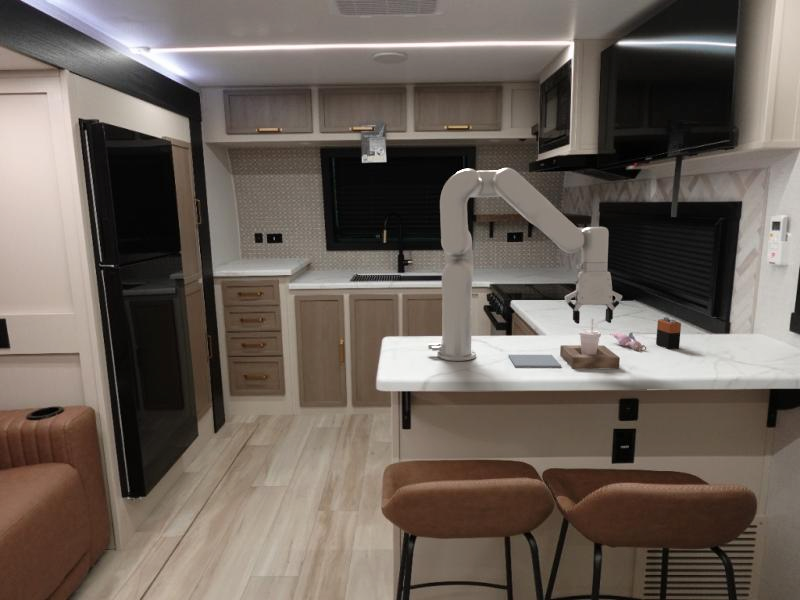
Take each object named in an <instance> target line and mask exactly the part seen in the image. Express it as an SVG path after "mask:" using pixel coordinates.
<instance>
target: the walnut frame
mask: <svg viewBox="0 0 800 600" xmlns="http://www.w3.org/2000/svg"><path fill="white" fill-rule="evenodd" d="M559 353H560V354H559V356H560V357H561V358H562V359H563V361H564V362H567V363H566V364H567V365H568V366H569V367H570V368H571V369H572V370H573V369H575V370H577V369H578V368H580V369H581V368H589V369H590V368H591V370H592V369H593V368H619V369H620V362H621V360H620V358H621V357H620V356H618V355H617V353H616V354H615V353H614V352H613V351H612V350H611V349H609V348H608V347H606V346H605V345H599V344H598V347H597V353H596V355H582V353H581V344H580V345H579V344H578V345H575V344H574V345H572V344H571V345H570V344H569V345H567V344H566V345H565V344H564V345H560V352H559ZM581 370H582V369H581Z"/></svg>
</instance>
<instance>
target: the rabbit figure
mask: <svg viewBox="0 0 800 600" xmlns="http://www.w3.org/2000/svg"><path fill="white" fill-rule="evenodd" d="M633 334H634V333H633V332H632V331H630V332H629V333H628V334H625V333H622V332H614V333H609V335H610V336H612V337H614V338H615V339H616V340H617V342H618V344H620V345H621V346H623V347H628V346H629V347H630V348H632V350H633V351H638V352H640V351H642V350H643V348H644V351H647V346H645V345H644V344H642V343H641V342H640V341H638V340H637V339H636V337H635V336H634V335H633ZM632 340H633V341H632Z"/></svg>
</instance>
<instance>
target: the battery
mask: <svg viewBox="0 0 800 600" xmlns="http://www.w3.org/2000/svg"><path fill="white" fill-rule="evenodd" d="M681 330H682V322H679V321H677V319H671V318H670V317H667V316H663V317H662V318H661V319H658V320H657V327H656V337H655V338H656V341H655V344H656V345H657V346H659V347H661V348H664V347H665V349H667V350H676V349H680V343H681V342H680V341H681Z"/></svg>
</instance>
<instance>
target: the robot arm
mask: <svg viewBox="0 0 800 600" xmlns="http://www.w3.org/2000/svg"><path fill="white" fill-rule="evenodd" d="M498 197H499V198H500V197H501V198H502V199H503V200H504V201H505V202H506V203H507V204H509V206H510V207H512V208H513V209H515V211H516V212H517V213H519V215H521V216H522V217H523V218H524V219H525V220H526V221H527V222H529V223H530V224H532V225H533V226H535V227H537V229H539V231H541V232H542V233H543V234H544V235H546V236H547V237H548V238H549V239H550V240H551V241H552V243H554V244H555V245H556V246H557V247H558V248H559V249H561V250H562V251H563V252H565V253H568V254H575V253H577V252H579V251H580V250H581V259H580V260H581V261H580V262H579V263H577V264H576V269H578V270H580V271H579V272H578V274H577V279H576V286H575V290H574V291H572V292H570V293H569V294H566V295H565V296H564V300H565V301H566V304H567V305H568V306H569V307H570V308H571V309H572V320H573V321H574V323H576V324H577V325H578V324H580V314H581V312H580V310H579V309H580V308H581V307H582V306H605V307H606V309H605V320H604V321H605V322H607V323H609V324H611V323H612V320H613V317H614V310H615V309H616V308H617V307H618V306H619V304H620V302H621V301H622V299H623V295H622V294H620V293H618V292H616V291H614V290H613V285H612V276H611V275H612V274H611V272H610V271H608V263H609V262H608V259H609V257H608V256H609V255H608V254H609V229H608V228H607V227H605V226H587V227H577V225H575V224H574V223H573V222H572V221H571V220H569V219H568V217H566V216H565V215H564V214H563V213H562V212H560V210H559V209H557V208H556V207H555V206H554V205H553V204H552V203H551V202H550V200H548V199H547V198H546V197H545V196H544V195H543V194H542V193H541V192H540V191H539V190H537V189H536V188H535V187H534V185H532V184H531V183H530V182H529V181H528V180H527V179H525V178H524V176H522V175H521V174H520V173H518V171H517V170H515V169H514V168H511V167H503V168H501V169H498V170H497V169H496V170H475V169H474V168H464V169H461V170H459V171H457V172H456V173H455V174H453V175H451V176H450V177H449V178H448V180H446V181H445V183H444V185H443V188H442V190H441V194H440V199H439V210H440V211H439V213H440V214H439V215H440V218H439V219H440V237H441V238H440V243H441V247H442V249H443V253H444V268H443V270H442V273H441V293H442V295H441V296H442V297H441V298H442V299H441V301H442V302H441V305H442V307H441V308H442V311H441V312H442V313H441V314H442V316H441V317H442V320H441V321H442V322H441V324H442V325H441V327H442V329H441V330H442V331H441V332H442V333H441V337H442V338H441V340H440V342H437V343H428V347H427V349H428V350H431V351H434V352H435V351H436V352H437V357H438V358H439V359H442V360H445V361H450V362H451V361H453V362H465V361H470V360H473V359H475V358H476V357H477V353H476V352H475V350H472V323H473V322H472V320H473V319H472V318H473V315H472V313H473V312H472V311H473V277H474V272H475V269H474V268H475V267H474V255H473V254H474V252H473V240H472V234H471V232H470V231H469V224H468V223H469V222H468V201H469V199H470V198H498ZM613 296H614V297H615V299H614V300H613ZM574 297H575V302H574V303H573V302H572V299H573V298H574Z"/></svg>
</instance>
